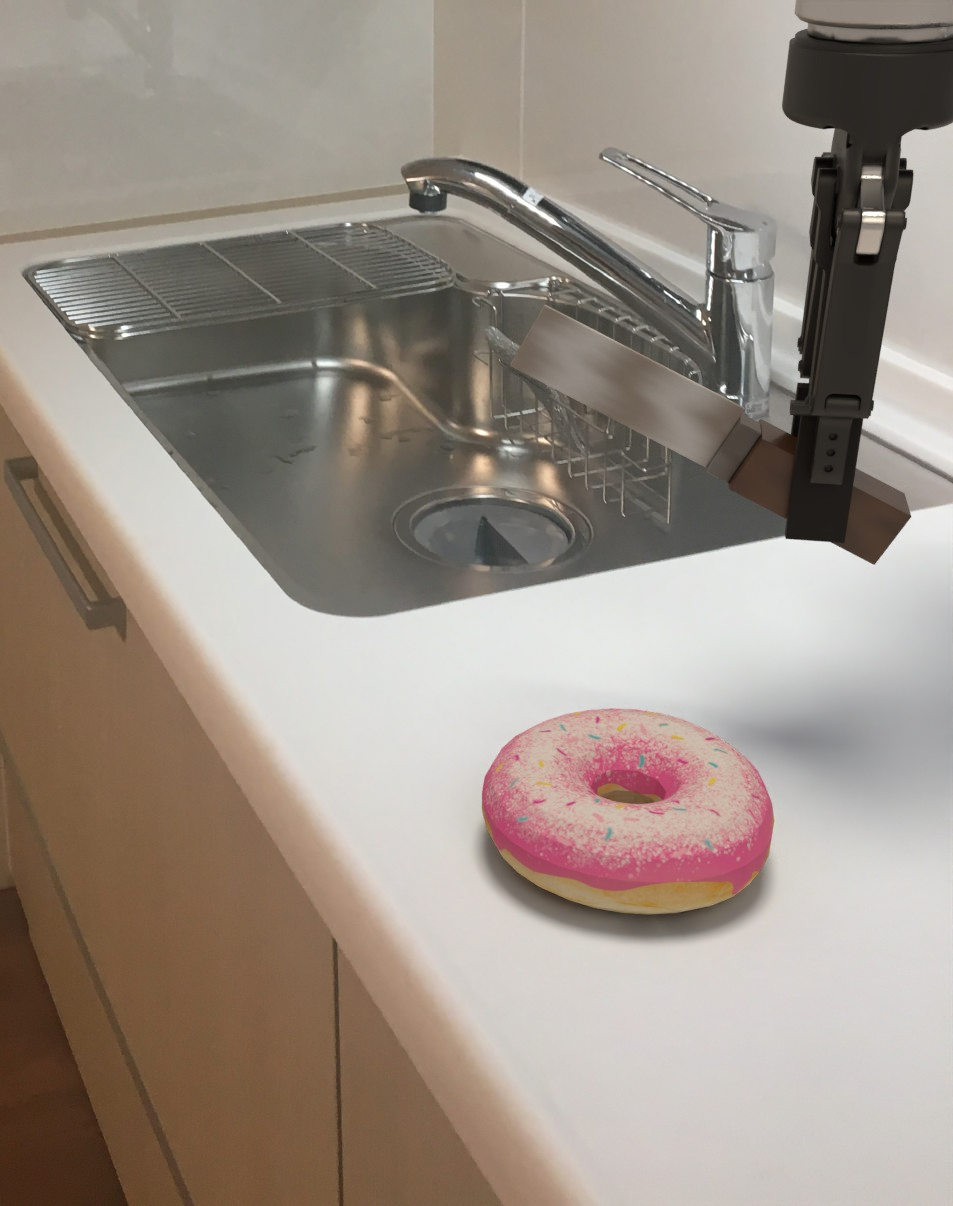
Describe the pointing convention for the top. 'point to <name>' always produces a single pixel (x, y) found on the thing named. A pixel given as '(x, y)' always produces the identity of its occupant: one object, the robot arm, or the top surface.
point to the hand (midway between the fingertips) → (812, 522)
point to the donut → (628, 811)
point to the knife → (695, 424)
